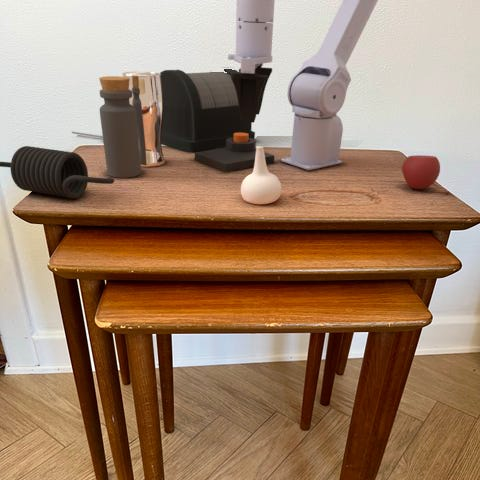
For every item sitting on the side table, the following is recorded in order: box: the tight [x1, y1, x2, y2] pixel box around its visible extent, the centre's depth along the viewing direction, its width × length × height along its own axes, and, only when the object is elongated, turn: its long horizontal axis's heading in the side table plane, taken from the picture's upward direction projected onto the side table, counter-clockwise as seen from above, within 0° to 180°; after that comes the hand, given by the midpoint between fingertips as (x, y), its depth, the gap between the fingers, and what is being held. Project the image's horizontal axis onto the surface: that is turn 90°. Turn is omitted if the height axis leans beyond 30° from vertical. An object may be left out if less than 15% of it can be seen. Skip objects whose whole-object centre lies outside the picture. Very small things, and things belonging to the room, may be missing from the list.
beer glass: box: [121, 71, 165, 168], centre depth 83 cm, size 7×7×15 cm
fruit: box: [401, 154, 449, 195], centre depth 77 cm, size 6×6×8 cm
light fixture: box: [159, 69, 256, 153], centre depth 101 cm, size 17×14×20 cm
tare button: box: [233, 133, 249, 142], centre depth 92 cm, size 3×3×2 cm
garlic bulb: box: [240, 145, 282, 205], centre depth 69 cm, size 6×6×8 cm
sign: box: [71, 131, 103, 139], centre depth 102 cm, size 5×1×15 cm
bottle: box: [98, 75, 142, 179], centre depth 77 cm, size 6×6×15 cm
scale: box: [194, 137, 275, 173], centre depth 90 cm, size 13×11×3 cm
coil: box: [0, 145, 115, 200], centre depth 69 cm, size 7×20×9 cm
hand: (250, 117), depth 78 cm, fingers open, 7 cm apart
